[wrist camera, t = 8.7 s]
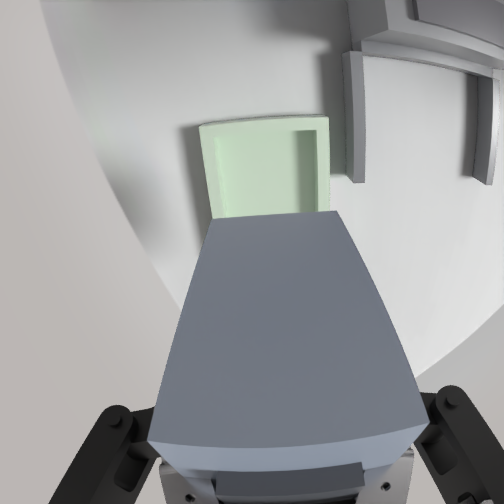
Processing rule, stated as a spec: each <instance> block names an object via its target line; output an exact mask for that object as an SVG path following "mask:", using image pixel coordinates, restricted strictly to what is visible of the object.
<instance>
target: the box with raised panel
mask: <svg viewBox="0 0 504 504" xmlns="http://www.w3.org/2000/svg"><path fill="white" fill-rule="evenodd" d="M429 423H430V421H429V418H428V415H427V412H426V409H425V406H424V403H423V400H422V397H421V395H420V392H419V389H418V386H417V384H416V381H415V378H414V375H413V373H412V370H411V368H410V365H409V362H408V360H407V357H406V355H405V352H404V350H403V347H402V345H401V342H400V340H399V338H398V335H397V333H396V331H395V328H394V326H393V324H392V321H391V319H390V317H389V314H388V312H387V310H386V308H385V305H384V303H383V301H382V299H381V297H380V295H379V292H378V290H377V288H376V286H375V284H374V282H373V280H372V278H371V276H370V274H369V272H368V269H367V267H366V265H365V263H364V261H363V259H362V257H361V255H360V253H359V252H358V250H357V248H356V246H355V244H354V242H353V240H352V238H351V236H350V234H349V232H348V230H347V229H346V227H345V225H344V223H343V221H342V219H341V217H340V216H339V214H338V212H337V211H320V212H302V213H285V214H270V215H256V216H242V217H229V218H217V219H211V222H210V225H209V228H208V231H207V234H206V237H205V240H204V243H203V246H202V249H201V252H200V255H199V258H198V261H197V264H196V267H195V270H194V273H193V277H192V280H191V283H190V286H189V289H188V292H187V296H186V299H185V302H184V306H183V309H182V312H181V315H180V319H179V322H178V326H177V329H176V332H175V336H174V340H173V343H172V346H171V350H170V353H169V357H168V360H167V364H166V368H165V371H164V375H163V379H162V383H161V386H160V390H159V394H158V398H157V402H156V405H155V409H154V413H153V417H152V421H151V425H150V430H149V434H148V438H147V441H148V442H149V444H150V445H151V446H152V447H153V448H154V449H155V450H156V451H157V452H158V453H159V454H160V455H161V456H162V457H163V458H164V459H165V460H166V461H167V462H168V463H169V464H170V465H171V466H172V467H173V468H174V469H175V470H176V471H177V472H178V473H180V474H181V475H182V476H184V477H194V478H205V479H211V480H212V481H213V482H214V484H215V485H216V492H215V495H216V496H217V497H218V498H219V499H220V500H221V501H222V502H223V503H224V504H319V503H327V502H334V501H341V500H347V499H352V498H353V497H354V496H355V495H356V494H357V493H358V492H359V491H360V490H361V489H362V488H363V487H364V486H365V481H364V474H363V472H364V470H366V469H371V468H376V467H381V466H385V465H389V464H393V463H395V462H396V461H397V460H398V459H399V458H400V457H401V455H402V454H403V453H404V452H405V451H406V450H407V449H408V448H409V447H410V446H411V444H412V443H413V442H414V441H415V440H416V439H417V437H418V436H419V435H420V434H421V433H422V431H423V430H424V429H425V428H426V427H427V425H428V424H429Z"/></svg>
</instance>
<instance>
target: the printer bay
mask: <svg viewBox="0 0 504 504" xmlns="http://www.w3.org/2000/svg"><path fill="white" fill-rule="evenodd" d="M347 7H348V15H349V23H350V31H351V41H352V51H348V52H345V53H343V54H341V55H342V67H343V81H344V100H345V129H346V175H347V177H348V178H349V179H350V180H351V181H352V182H353V183H365V146H366V127H365V90H364V72H363V58H362V55H365V56H375V57H384V58H392V59H400V60H406V61H413V62H418V63H424V64H429V65H434V66H439V67H443V68H448V69H452V70H456V71H460V72H464V73H468V74H471V75H475V76H478V125H477V141H476V152H475V162H474V170H473V177H474V178H476V179H477V180H479V181H480V182H482V183H484V184H485V185H492V183H493V177H494V170H495V162H496V153H497V143H498V130H499V105H500V88H499V80H497V79H494V78H493V71H492V68H494V69H504V0H347Z"/></svg>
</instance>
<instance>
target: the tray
mask: <svg viewBox="0 0 504 504" xmlns="http://www.w3.org/2000/svg"><path fill="white" fill-rule="evenodd" d="M199 133H200V140H201V147H202V154H203V161H204V167H205V174H206V181H207V187H208V193H209V200H210V206H211V212H212V218H213V219H217V218H229V217H242V216H256V215H270V214H285V213H302V212H320V211H330V146H329V117H327V116H324V115H291V116H272V117H259V118H247V119H237V120H227V121H219V122H211V123H204V124H202V125H201V126H199Z"/></svg>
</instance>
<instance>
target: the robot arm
mask: <svg viewBox="0 0 504 504" xmlns="http://www.w3.org/2000/svg"><path fill="white" fill-rule="evenodd" d="M420 395H421V397H422V400H423V403H424V406H425V409H426V412H427V415H428V418H429V421H430V423H429V424H428V425H427V427H426V428H425V429H424V430H423V431H422V433H421V434H420V435H419V436H418V437H417V439H416V440H415V441H414V442H413V443H414V445H415V447H416V448H417V450H418V452H419V454H420V456H421V458H422V459H423V461H424V463H425V465H426V467H427V468H428V470H429V472H430V474H431V476H432V478H433V480H434V482H435V483H436V485H437V487H438V489H439V491H440V493H441V495H442V497H443V499H444V501H445V503H446V504H504V450H503V448H502V447H501V445H500V443H499V442H498V440H497V439H496V437H495V435H494V434H493V433H492V431H491V429H490V428H489V426H488V425H487V423H486V422H485V420H484V419H483V417H482V416H481V415H480V413H479V412H478V410H477V409H476V407H475V406H474V404H473V403H472V402H471V400H470V399H469V397H468V396H467V394H466V393H465V392H464V391H463V390H462V389H461V388H459V387H457V386H453V385H450V386H445V387H443V388H441V389H440V390H439V391H438V393H437V394H436V393H422V392H420ZM154 409H155V406H154V407H152V408H149V409H144V410H139V411H133V412H130V411H129V409H128V408H126V407H124V406H121V405H113V406H110V407H108V408H106V409H105V410H104V411H103V412H102V414H101V415H100V417H99V418H98V420H97V422H96V423H95V425H94V426H93V428H92V430H91V431H90V433H89V435H88V436H87V438H86V439H85V441H84V443H83V444H82V446H81V448H80V449H79V451H78V453H77V454H76V456H75V458H74V460H73V461H72V463H71V465H70V466H69V468H68V470H67V472H66V473H65V475H64V477H63V479H62V480H61V482H60V484H59V486H58V487H57V489H56V491H55V493H54V495H53V496H52V498H51V500H50V502H49V504H134V503H135V501H136V499H137V497H138V495H139V493H140V491H141V489H142V487H143V485H144V483H145V481H146V479H147V476H148V474H149V473H150V471H151V469H152V467H153V464H154V462H155V460H156V458H158V457H161V458H162V464H160V466H159V473H160V478H161V483H162V487H163V491H164V495H165V500H166V503H167V504H224V503H223V502H222V501H221V500H220V499H219V498H218V497H217V496H216V495H215V492H216V485H215V484H214V482H213V481H212V480H211V479H205V478H194V477H184V476H182V475H181V474H180V473H178V472H177V471H176V470H175V469H174V468H173V467H172V466H171V465H170V464H169V463H168V462H167V461H166V460H165V459H164V458H163V457H162V456H161V455H160V454H159V453H158V452H157V451H156V450H155V449H154V448H153V447H152V446H151V445H150V444H149V442H148V441H147V438H148V434H149V430H150V425H151V421H152V417H153V413H154ZM413 461H414V451H413V449H411V447H409V448H408V449H407V450H406V451H405V452H404V453H403V454H402V455H401V457H400V458H399V459H398V460H397V461H396V462H395V463H393V464H389V465H385V466H381V467H376V468H371V469H366V470H364V472H363V474H364V481H365V486H364V487H363V488H362V489H361V490H360V491H359V492H358V493H357V494H356V495H355V496H354V497H353V498H352V499H347V500H341V501H334V502H327V503H319V504H406V500H407V495H408V490H409V485H410V480H411V474H412V468H413Z"/></svg>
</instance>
